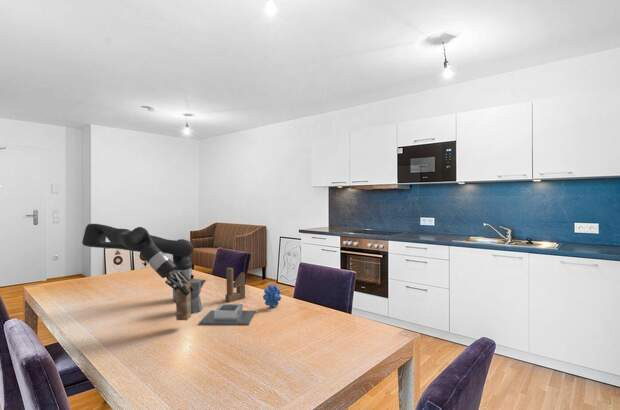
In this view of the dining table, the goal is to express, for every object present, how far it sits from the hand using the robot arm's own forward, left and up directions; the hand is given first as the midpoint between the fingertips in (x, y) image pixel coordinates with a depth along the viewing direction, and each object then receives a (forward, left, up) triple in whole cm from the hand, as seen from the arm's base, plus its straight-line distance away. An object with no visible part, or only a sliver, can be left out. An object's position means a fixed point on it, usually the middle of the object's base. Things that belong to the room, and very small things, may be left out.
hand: (190, 292), depth 147 cm
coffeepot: (-8, +22, -16) cm, 28 cm away
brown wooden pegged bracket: (+10, +41, -16) cm, 45 cm away
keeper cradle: (+14, +12, -15) cm, 24 cm away
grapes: (+33, +27, -16) cm, 45 cm away
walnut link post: (-3, 0, -11) cm, 12 cm away
